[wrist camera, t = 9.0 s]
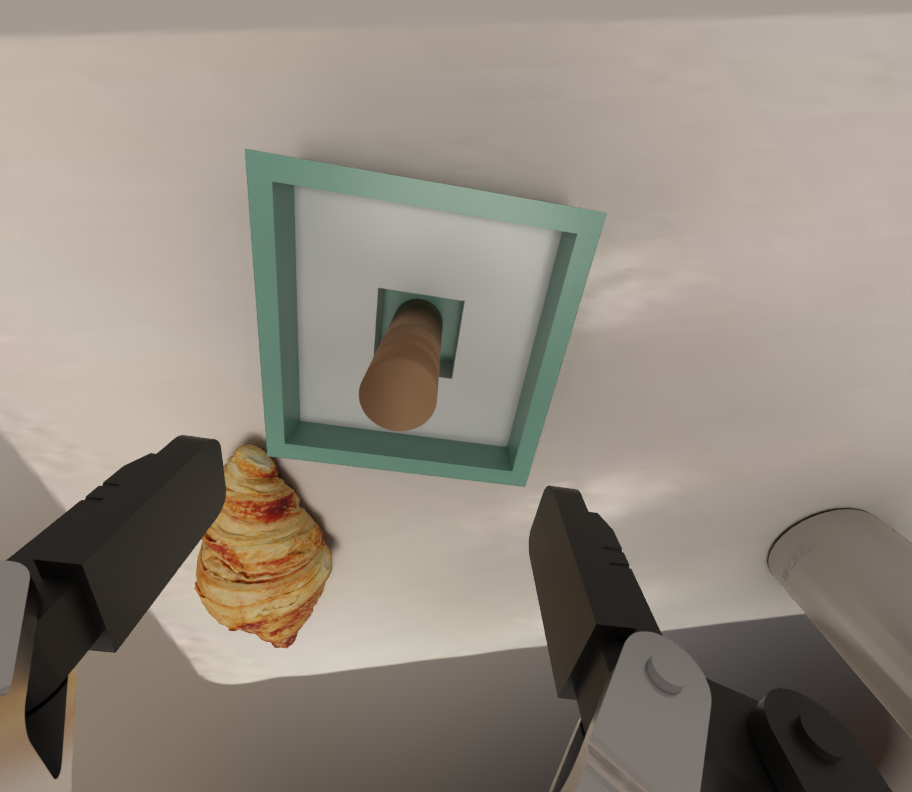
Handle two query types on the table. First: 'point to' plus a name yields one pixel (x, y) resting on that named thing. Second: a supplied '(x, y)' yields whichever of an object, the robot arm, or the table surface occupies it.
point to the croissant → (261, 554)
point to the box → (396, 281)
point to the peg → (405, 369)
